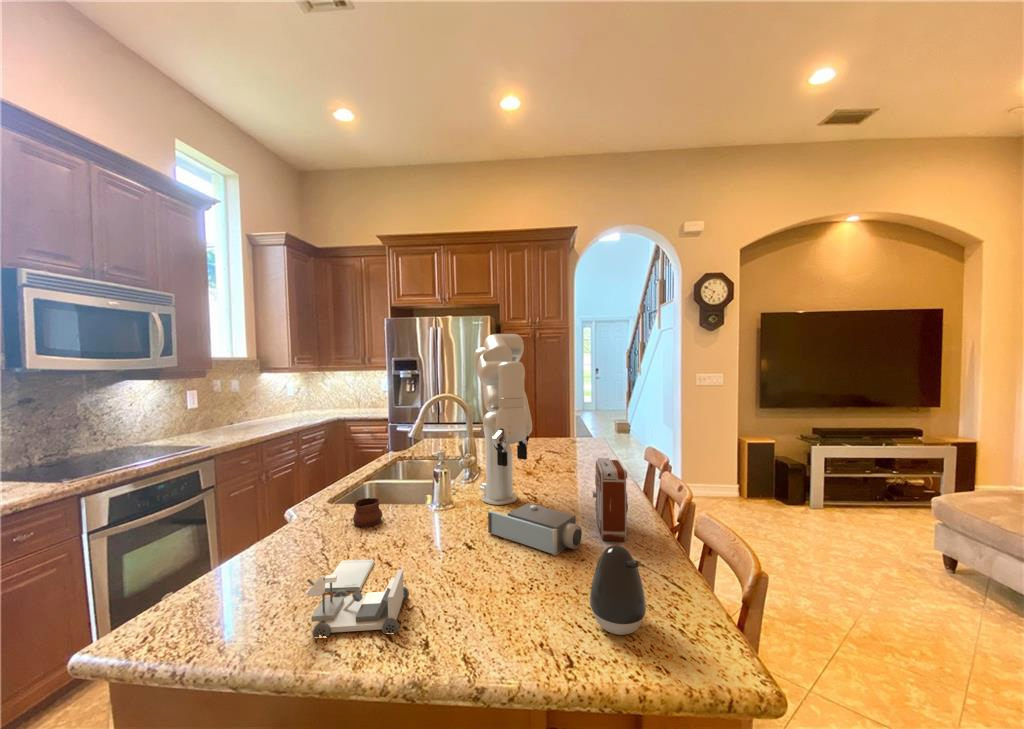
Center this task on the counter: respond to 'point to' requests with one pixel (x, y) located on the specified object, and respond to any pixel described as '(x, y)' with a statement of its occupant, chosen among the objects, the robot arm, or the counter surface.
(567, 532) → the block
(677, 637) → the counter surface
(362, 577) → the hard drive
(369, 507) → the ceramic pot
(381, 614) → the toy car
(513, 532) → the side door
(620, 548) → the dark grey egg-shaped piece
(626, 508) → the cine camera
